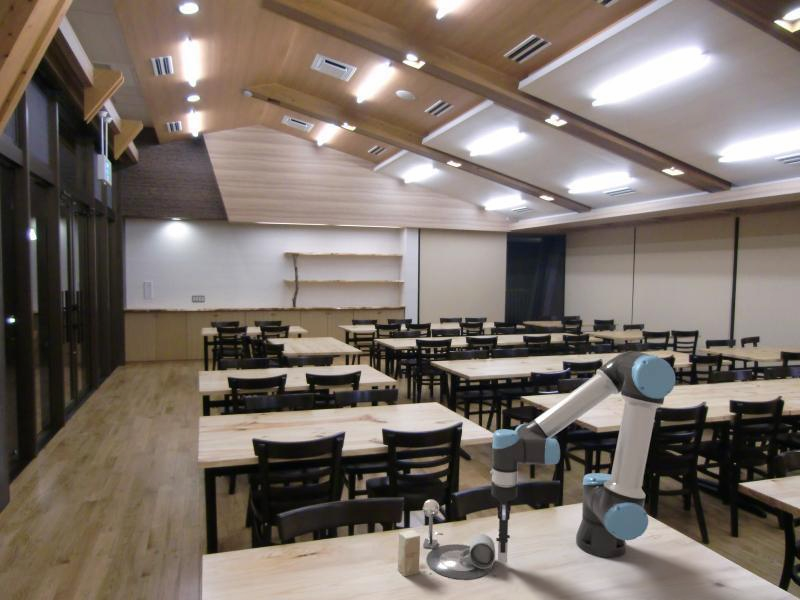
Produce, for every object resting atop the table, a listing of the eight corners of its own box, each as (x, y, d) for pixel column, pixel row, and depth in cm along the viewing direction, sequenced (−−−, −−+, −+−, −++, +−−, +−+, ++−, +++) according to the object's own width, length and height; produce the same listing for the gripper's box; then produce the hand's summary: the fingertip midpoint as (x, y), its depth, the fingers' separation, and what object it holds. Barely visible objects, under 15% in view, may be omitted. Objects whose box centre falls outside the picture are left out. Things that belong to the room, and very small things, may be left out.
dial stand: (443, 543, 170) (444, 499, 170) (442, 549, 167) (442, 504, 166) (423, 541, 172) (424, 497, 171) (421, 547, 168) (422, 502, 168)
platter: (493, 549, 167) (493, 548, 167) (491, 583, 148) (491, 582, 148) (431, 542, 171) (431, 541, 171) (421, 574, 152) (421, 573, 152)
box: (404, 577, 150) (404, 538, 150) (397, 569, 154) (397, 532, 154) (420, 572, 153) (420, 535, 152) (412, 565, 157) (413, 528, 156)
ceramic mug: (494, 556, 162) (494, 531, 162) (495, 570, 154) (495, 544, 154) (459, 553, 164) (460, 529, 163) (458, 567, 155) (459, 541, 155)
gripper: (492, 474, 164) (490, 549, 164) (491, 489, 151) (489, 571, 151) (516, 476, 162) (514, 552, 163) (517, 492, 149) (515, 574, 150)
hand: (502, 561), depth 157 cm, fingers closed
